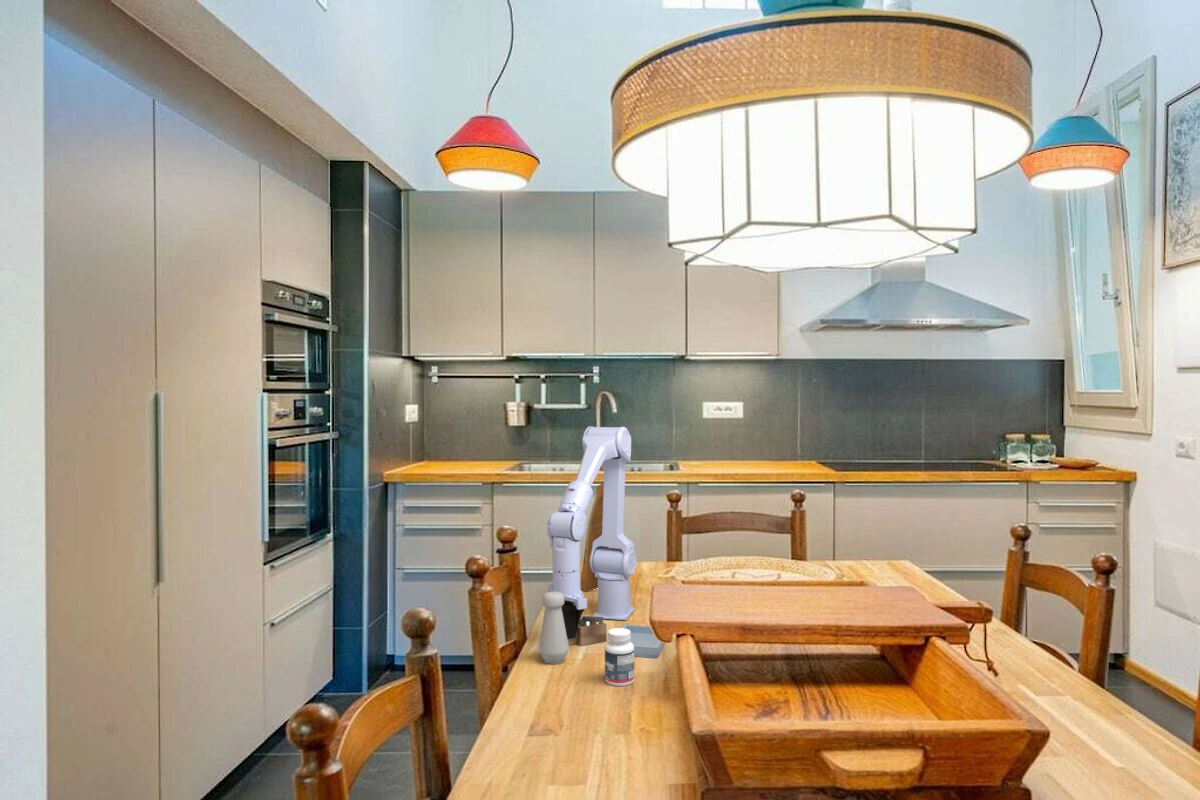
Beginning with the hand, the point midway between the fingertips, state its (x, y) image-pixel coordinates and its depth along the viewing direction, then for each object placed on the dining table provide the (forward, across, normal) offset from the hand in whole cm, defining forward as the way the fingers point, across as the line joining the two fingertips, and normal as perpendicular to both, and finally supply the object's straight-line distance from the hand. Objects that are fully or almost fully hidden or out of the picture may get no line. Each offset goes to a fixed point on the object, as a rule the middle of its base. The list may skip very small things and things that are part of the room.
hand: (567, 635), depth 149 cm
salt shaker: (+2, +8, -6) cm, 10 cm away
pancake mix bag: (+2, -38, +28) cm, 48 cm away
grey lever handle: (+2, +1, +5) cm, 6 cm away
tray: (+2, +8, +12) cm, 15 cm away
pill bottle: (+2, +22, 0) cm, 23 cm away
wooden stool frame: (+2, 0, +3) cm, 3 cm away
